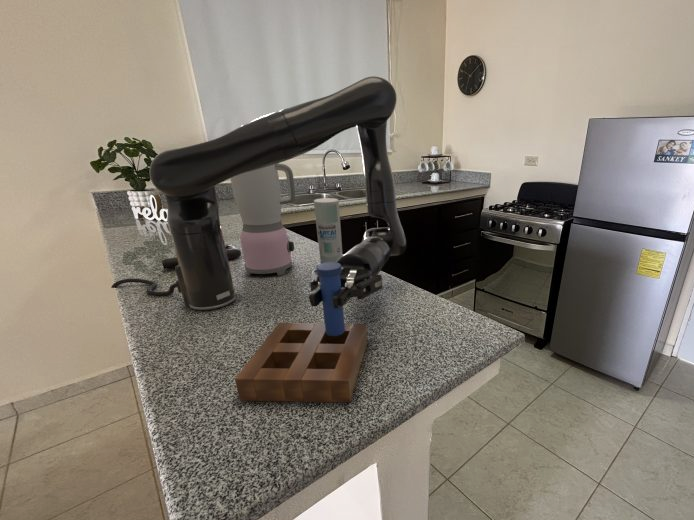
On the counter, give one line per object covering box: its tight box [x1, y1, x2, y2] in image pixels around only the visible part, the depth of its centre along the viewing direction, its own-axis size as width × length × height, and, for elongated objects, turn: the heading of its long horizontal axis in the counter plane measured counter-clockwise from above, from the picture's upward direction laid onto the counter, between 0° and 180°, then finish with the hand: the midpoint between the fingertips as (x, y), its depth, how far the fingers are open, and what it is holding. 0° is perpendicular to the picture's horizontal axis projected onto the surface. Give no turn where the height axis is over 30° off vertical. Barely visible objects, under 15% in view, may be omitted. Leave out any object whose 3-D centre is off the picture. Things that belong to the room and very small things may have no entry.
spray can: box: [313, 197, 344, 264], centre depth 97 cm, size 6×6×20 cm
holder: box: [234, 322, 368, 403], centre depth 58 cm, size 16×16×4 cm
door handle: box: [161, 244, 242, 270], centre depth 107 cm, size 3×20×16 cm
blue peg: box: [315, 262, 345, 336], centre depth 58 cm, size 4×4×12 cm
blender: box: [229, 163, 296, 276], centre depth 94 cm, size 16×12×32 cm
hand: (324, 302), depth 55 cm, fingers closed on blue peg, 3 cm apart
